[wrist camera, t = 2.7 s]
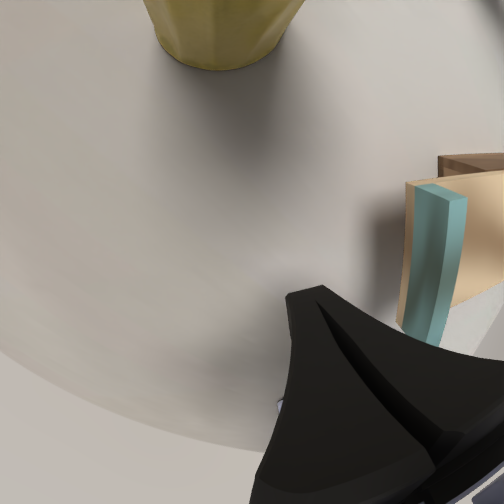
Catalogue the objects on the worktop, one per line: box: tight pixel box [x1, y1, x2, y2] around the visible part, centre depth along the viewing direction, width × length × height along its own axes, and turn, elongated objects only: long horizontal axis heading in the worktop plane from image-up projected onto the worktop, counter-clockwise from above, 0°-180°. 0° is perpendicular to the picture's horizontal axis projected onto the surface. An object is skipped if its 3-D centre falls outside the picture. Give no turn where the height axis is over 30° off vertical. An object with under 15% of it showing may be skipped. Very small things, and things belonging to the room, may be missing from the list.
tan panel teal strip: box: [396, 170, 504, 347], centre depth 11 cm, size 7×9×3 cm
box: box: [438, 153, 504, 178], centre depth 14 cm, size 7×9×4 cm
